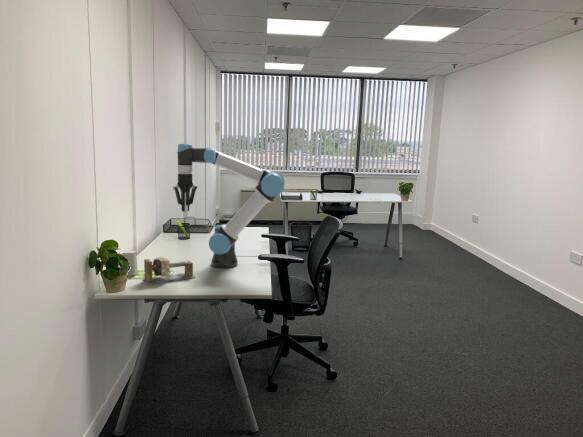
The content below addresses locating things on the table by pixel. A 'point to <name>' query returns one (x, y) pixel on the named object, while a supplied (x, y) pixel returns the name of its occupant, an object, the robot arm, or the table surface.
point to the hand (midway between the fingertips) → (185, 217)
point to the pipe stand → (175, 277)
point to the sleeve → (164, 266)
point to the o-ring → (159, 268)
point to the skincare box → (131, 261)
